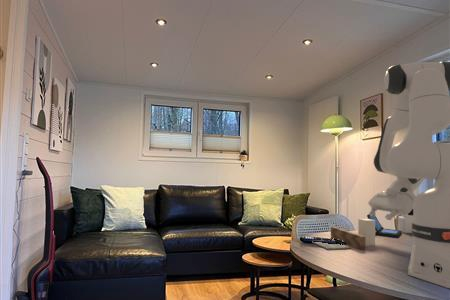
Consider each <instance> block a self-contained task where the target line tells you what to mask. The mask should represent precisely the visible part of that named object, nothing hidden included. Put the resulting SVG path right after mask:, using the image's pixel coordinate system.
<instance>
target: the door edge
mask: <svg viewBox="0 0 450 300" xmlns="http://www.w3.org/2000/svg"><path fill="white" fill-rule="evenodd" d="M331 238H334V239H339V240H343V241H345V242H346V244H345V245H346V246H349V247H351V248H352V247H353V248H354V249H358V250H360V251H365V250H366V246H365V236H362V235H359V234H358V233H356V232H352V231H349V230H346V229H343V228H341V227H337V226H330V239H331Z"/></svg>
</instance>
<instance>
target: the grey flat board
mask: <svg viewBox="0 0 450 300" xmlns="http://www.w3.org/2000/svg"><path fill="white" fill-rule="evenodd" d="M332 240H334V239H332ZM311 241H312V243H311V244H314V245H316V246H318V247H320V248H322V249H325V250H327V251H336V250H338V251H339V250H351V249H352V246H350V245H347V244H344V243H341V245H340V244H328V243H322V242H313V241H314V240H311ZM342 244H343V245H342Z"/></svg>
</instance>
